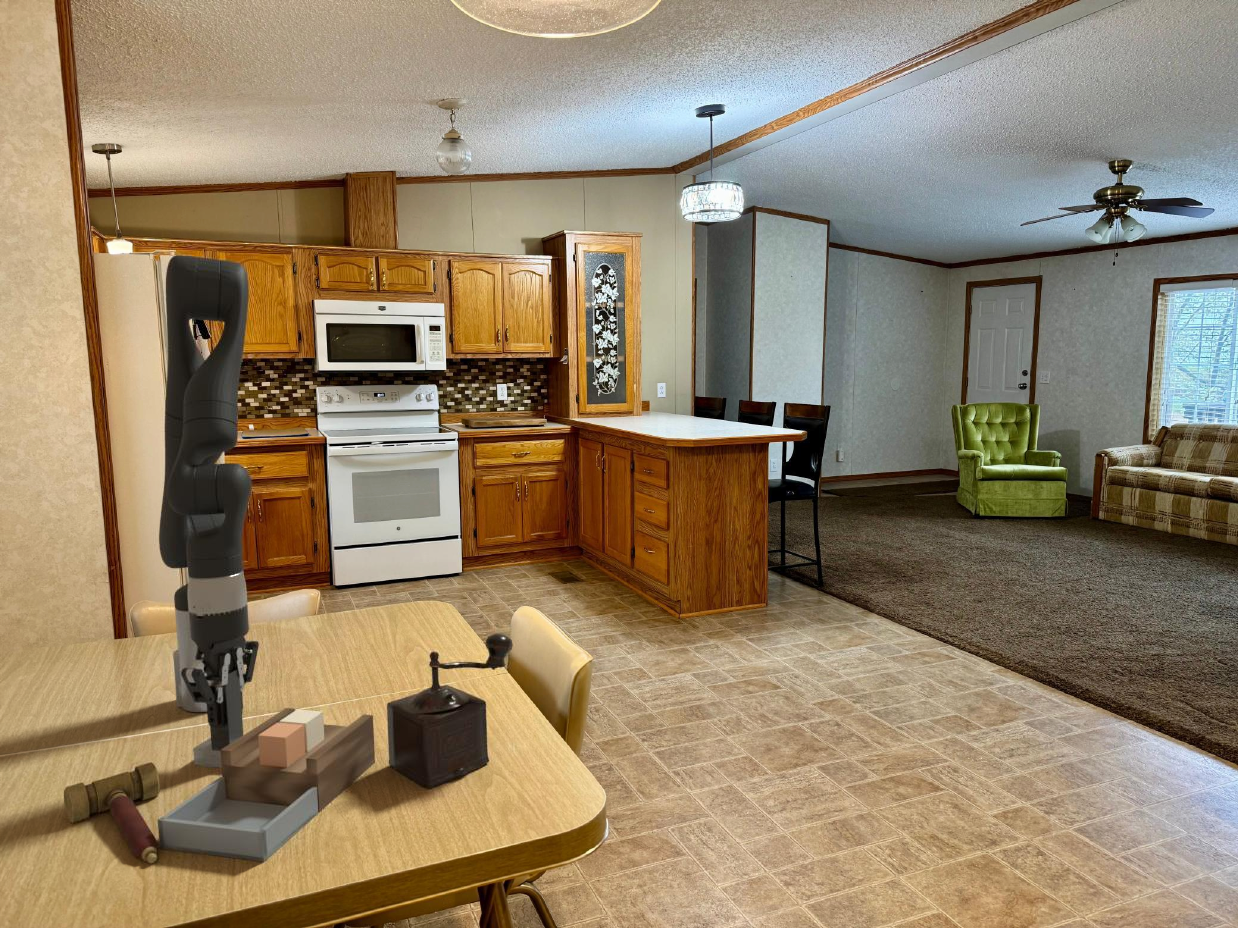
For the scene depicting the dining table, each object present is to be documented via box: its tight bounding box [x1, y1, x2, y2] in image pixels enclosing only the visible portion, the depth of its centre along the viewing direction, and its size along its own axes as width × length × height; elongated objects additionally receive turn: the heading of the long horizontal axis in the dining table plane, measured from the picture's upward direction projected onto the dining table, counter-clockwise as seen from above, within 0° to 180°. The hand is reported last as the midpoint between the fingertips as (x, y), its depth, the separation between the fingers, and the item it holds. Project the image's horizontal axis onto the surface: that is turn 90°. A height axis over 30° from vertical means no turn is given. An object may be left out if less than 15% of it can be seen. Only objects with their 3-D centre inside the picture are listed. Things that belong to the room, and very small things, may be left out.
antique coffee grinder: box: [386, 633, 514, 790], centre depth 119 cm, size 16×11×18 cm
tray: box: [157, 776, 319, 863], centre depth 102 cm, size 14×11×4 cm
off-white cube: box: [280, 709, 325, 752], centre depth 114 cm, size 4×4×4 cm
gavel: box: [63, 762, 161, 864], centre depth 102 cm, size 21×5×10 cm
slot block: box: [220, 707, 376, 813], centre depth 114 cm, size 14×14×7 cm
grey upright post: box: [193, 669, 244, 769], centre depth 120 cm, size 9×4×14 cm, turn 77°
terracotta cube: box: [258, 723, 305, 767], centre depth 110 cm, size 4×4×4 cm
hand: (226, 720), depth 120 cm, fingers closed on grey upright post, 3 cm apart
